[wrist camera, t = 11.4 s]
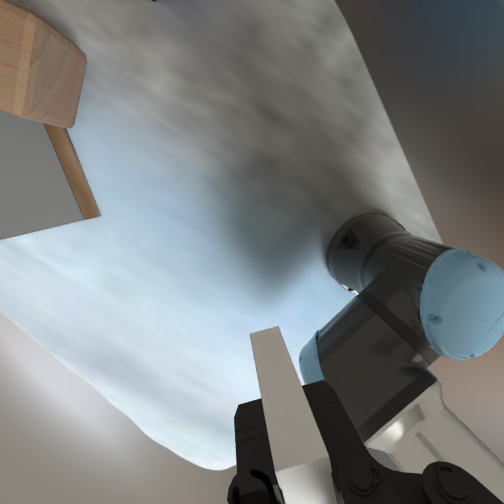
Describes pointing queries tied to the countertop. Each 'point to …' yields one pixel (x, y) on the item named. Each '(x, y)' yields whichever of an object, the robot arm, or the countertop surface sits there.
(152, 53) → the countertop surface
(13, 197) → the grey flat rectangular panel
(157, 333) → the countertop surface
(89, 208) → the stop strip
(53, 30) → the wooden block
